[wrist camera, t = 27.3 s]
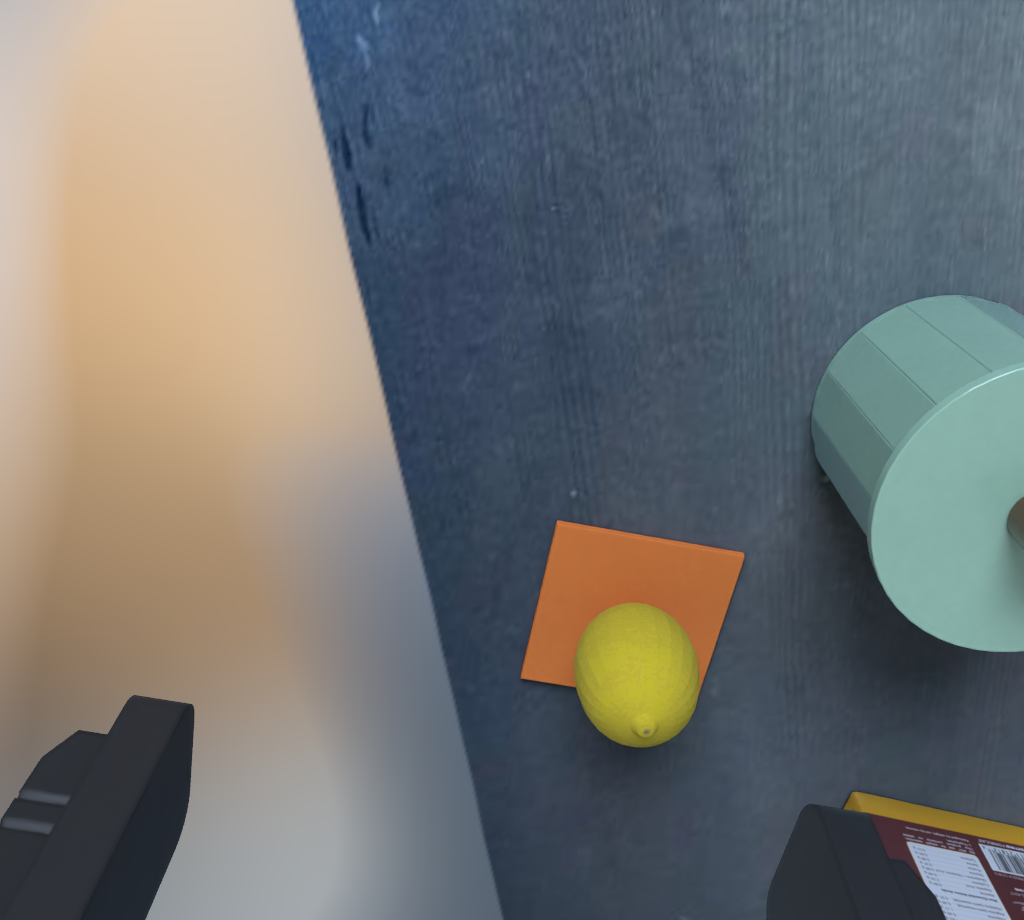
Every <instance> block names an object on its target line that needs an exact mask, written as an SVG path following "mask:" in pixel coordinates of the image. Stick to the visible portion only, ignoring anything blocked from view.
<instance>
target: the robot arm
mask: <svg viewBox="0 0 1024 920" xmlns="http://www.w3.org/2000/svg"><path fill="white" fill-rule="evenodd" d="M193 730H194V707H193V705H192V704H188V703H181V702H175V701H168V700H162V699H155V698H150V697H143V696H137V695H134V696H132V697H131V698H130V699H129V700H128V701H127V703H126V704H125V706H124V707H123V709H122V711H121V713H120V714H119V716H118V718H117V719H116V721H115V723H114V724H113V726H112V728H111V729H110V731H109V733H108V734H100V733H94V732H87V731H81V730H78V731H77V732H75V733H74V734H73V735H71V736H70V737H69V738H67V739H66V740H65V741H63V742H62V743H60V744H59V745H58V746H56V747H55V748H54V749H52V750H51V751H50V752H48V753H47V754H46V755H44V756H43V757H42V758H41V759H40V761H39V762H38V764H37V765H36V767H35V769H34V770H33V772H32V773H31V775H30V776H29V778H28V779H27V781H26V782H25V784H24V785H23V787H22V788H21V790H20V791H19V796H18V798H15V799H14V800H13V802H12V803H11V805H10V807H9V808H8V809H7V811H6V813H5V814H4V816H3V817H2V819H1V822H0V920H145V919H146V917H147V914H148V912H149V910H150V907H151V905H152V903H153V900H154V898H155V895H156V893H157V891H158V888H159V886H160V884H161V882H162V879H163V877H164V874H165V872H166V870H167V867H168V865H169V863H170V860H171V858H172V856H173V853H174V851H175V849H176V846H177V844H178V841H179V838H180V835H181V832H182V829H183V825H184V822H185V817H186V813H187V808H188V803H189V796H190V782H191V765H192V747H193ZM767 920H947V919H946V917H945V915H944V913H943V911H942V908H941V906H940V904H939V902H938V900H937V898H936V896H935V895H934V894H933V892H932V891H931V890H930V889H929V888H928V887H927V885H926V884H925V883H924V882H923V881H922V880H921V878H920V877H919V876H918V875H917V874H916V873H915V871H914V870H913V869H912V868H911V867H910V866H909V864H908V863H907V862H906V861H904V860H898V859H891V858H889V857H888V854H887V852H886V849H885V847H884V845H883V842H882V840H881V838H880V835H879V833H878V831H877V828H876V826H875V824H874V822H873V820H872V819H871V817H870V816H869V815H868V814H866V813H864V812H858V811H852V810H846V809H839V808H833V807H827V806H820V805H814V804H809V805H806V806H805V807H804V808H803V810H802V811H801V813H800V815H799V818H798V820H797V822H796V825H795V827H794V830H793V832H792V834H791V837H790V839H789V842H788V844H787V846H786V849H785V851H784V854H783V856H782V858H781V861H780V863H779V866H778V868H777V870H776V873H775V875H774V878H773V880H772V883H771V885H770V889H769V893H768V899H767Z"/></svg>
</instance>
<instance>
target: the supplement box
mask: <svg viewBox="0 0 1024 920" xmlns="http://www.w3.org/2000/svg"><path fill="white" fill-rule="evenodd" d="M843 809H846V810H852V811H858V812H864V813H866V814H868V815H869V816H870V817H871V819H872V820H873V822H874V824H875V826H876V828H877V831H878V833H879V835H880V838H881V840H882V842H883V845H884V847H885V849H886V852H887V854H888V857H889V858H891V859H898V860H904V861H906V862H907V863H908V864H909V866H910V867H911V868H912V869H913V870H914V871H915V873H916V874H917V875H918V876H919V877H920V878H921V880H922V881H923V882H924V883H925V884H926V885H927V887H928V888H929V889H930V890H931V891H932V892H933V894H934V895H935V896H936V898H937V900H938V902H939V904H940V906H941V908H942V911H943V913H944V915H945V917H946V919H947V920H1024V828H1022V827H1017V826H1013V825H1008V824H1004V823H999V822H994V821H990V820H985V819H981V818H976V817H972V816H967V815H962V814H958V813H953V812H949V811H944V810H940V809H935V808H931V807H926V806H921V805H917V804H912V803H908V802H903V801H899V800H894V799H890V798H885V797H880V796H876V795H871V794H867V793H862V792H857V791H856V792H852V794H851V796H850V798H849V799H848V801H847V803H846V805H845V807H844V808H843Z"/></svg>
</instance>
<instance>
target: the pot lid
mask: <svg viewBox="0 0 1024 920" xmlns="http://www.w3.org/2000/svg"><path fill="white" fill-rule="evenodd" d="M867 541H868V548H869V555H870V559H871V562H872V565H873V568H874V572H875V574H876V576H877V578H878V580H879V582H880V584H881V586H882V588H883V590H884V591H885V593H886V594H887V596H888V597H889V598H890V600H891V601H892V603H893V604H894V605H895V607H896V608H897V609H898V610H899V611H900V612H901V613H902V614H903V615H904V616H905V617H906V618H907V619H908V620H909V621H911V622H912V623H913V624H915V625H916V626H918V627H919V628H920V629H922V630H923V631H925V632H927V633H929V634H931V635H933V636H935V637H936V638H938V639H941V640H943V641H946V642H949V643H952V644H954V645H957V646H961V647H966V648H970V649H974V650H982V651H991V652H1020V651H1024V362H1022V363H1018V364H1013V365H1010V366H1007V367H1004V368H1002V369H999V370H996V371H993V372H991V373H988V374H986V375H984V376H982V377H980V378H978V379H976V380H974V381H972V382H970V383H968V384H966V385H964V386H963V387H961V388H959V389H958V390H956V391H955V392H953V393H951V394H950V395H948V396H947V397H945V398H944V399H943V400H941V401H940V402H939V403H938V404H936V405H935V406H934V407H933V408H931V409H930V410H929V411H928V412H926V413H925V414H924V415H923V416H922V417H921V418H920V419H919V420H918V421H917V422H916V423H915V424H914V425H913V426H912V427H911V428H910V430H909V431H908V432H907V433H906V435H905V436H904V437H903V438H902V440H901V441H900V442H899V443H898V445H897V446H896V447H895V449H894V451H893V452H892V454H891V455H890V457H889V459H888V460H887V462H886V463H885V465H884V468H883V470H882V472H881V474H880V476H879V478H878V480H877V483H876V486H875V489H874V492H873V495H872V499H871V502H870V508H869V514H868V521H867Z"/></svg>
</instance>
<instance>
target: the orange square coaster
mask: <svg viewBox="0 0 1024 920" xmlns="http://www.w3.org/2000/svg"><path fill="white" fill-rule="evenodd" d="M744 558H745V556H744V553H743V552H737V551H731V550H725V549H720V548H714V547H708V546H702V545H697V544H691V543H685V542H679V541H674V540H668V539H662V538H656V537H651V536H645V535H639V534H633V533H628V532H622V531H616V530H610V529H605V528H599V527H593V526H587V525H582V524H576V523H570V522H564V521H559V520H557V522H556V526H555V530H554V535H553V539H552V543H551V547H550V552H549V556H548V560H547V565H546V569H545V573H544V577H543V582H542V586H541V590H540V594H539V599H538V603H537V607H536V611H535V616H534V620H533V624H532V628H531V633H530V637H529V641H528V645H527V650H526V654H525V658H524V662H523V667H522V671H521V679H527V680H533V681H540V682H546V683H552V684H558V685H564V686H570V687H576V684H575V672H574V659H575V654H576V650H577V646H578V643H579V640H580V637H581V636H582V634H583V632H584V631H585V629H586V627H587V626H588V624H589V623H590V622H591V621H592V620H593V619H594V618H595V617H596V616H597V615H598V614H600V613H601V612H603V611H605V610H606V609H608V608H610V607H613V606H616V605H619V604H624V603H643V604H648V605H651V606H654V607H656V608H659V609H661V610H663V611H664V612H666V613H667V614H669V615H670V616H672V617H673V618H674V619H675V620H676V621H677V622H678V623H679V624H680V626H681V627H682V628H683V629H684V630H685V632H686V633H687V635H688V637H689V639H690V641H691V643H692V645H693V647H694V650H695V652H696V656H697V661H698V668H699V675H700V685H699V692H700V689H701V686H702V683H703V680H704V677H705V674H706V671H707V668H708V665H709V662H710V659H711V656H712V653H713V650H714V647H715V645H716V642H717V639H718V636H719V633H720V630H721V627H722V624H723V621H724V618H725V615H726V612H727V609H728V606H729V603H730V600H731V597H732V594H733V591H734V588H735V585H736V582H737V579H738V576H739V573H740V570H741V567H742V564H743V561H744ZM699 692H698V695H699Z"/></svg>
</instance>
